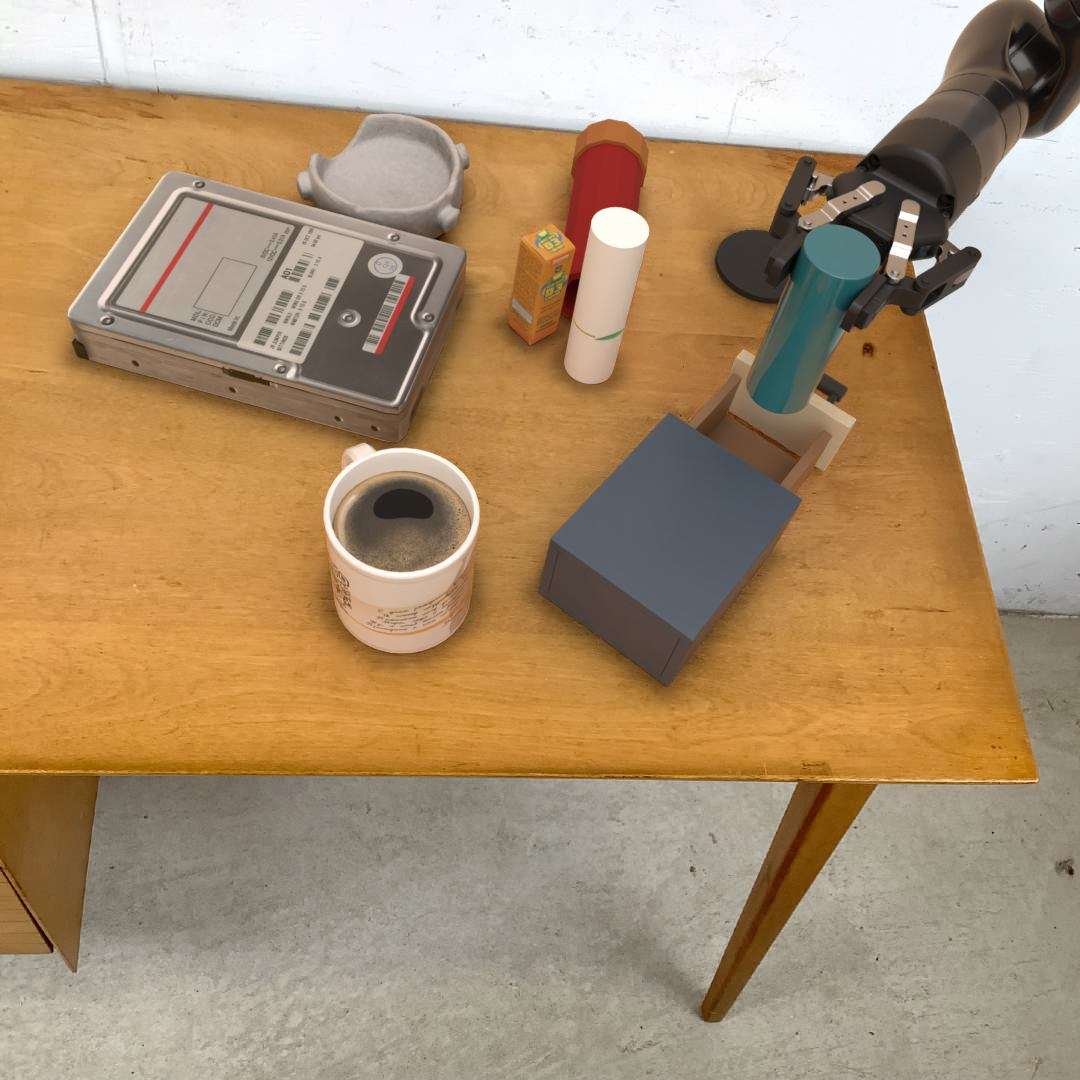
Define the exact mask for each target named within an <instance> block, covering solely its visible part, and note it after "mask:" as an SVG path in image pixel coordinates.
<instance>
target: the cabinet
mask: <svg viewBox="0 0 1080 1080" xmlns="http://www.w3.org/2000/svg"><path fill="white" fill-rule="evenodd" d="M802 502H803V499H802V498H801V497H799V496H798V495H797V494H796V493H795V494H793V493H792V492H790V491H789V490H787V489H786V488H784V487H783V486H781V485H779V484H778V483H776V482H775V481H773V480H772V479H770V478H769V477H767V476H766V475H764V474H763V473H761V472H760V471H758V470H757V469H755V468H754V467H752V466H751V465H749V464H747V463H746V462H744V461H743V460H741V459H740V458H738V457H737V456H735V455H734V454H732V453H731V452H729V451H728V450H726V449H725V448H723V447H722V446H720V445H718V444H717V443H715V442H714V441H712V440H711V439H709V438H708V437H706V436H705V435H703V434H702V433H700V432H699V431H697V430H696V429H694V428H693V427H691V426H689V425H688V423H686V422H685V421H683V420H682V419H681V418H680V417H679V418H678V416H676V415H674V414H673V413H671V412H668V413H667V414H666V416H664V418H662V420H660V421H659V423H658V424H657V425H656V426H655V427H654V428H653V429H652V430H651V431H650V432H649V433H648V434H647V436H645V438H643V440H642V441H640V443H639V444H638V445H637V446H636V447H635V448H634V449H633V450H632V451H631V453H629V455H628V456H627V457H626V458H625V459H624V460H623V461H622V462H621V463H620V464H619V465H618V466H617V467H616V468H615V470H613V472H612V473H611V474H610V475H609V476H608V477H607V478H606V479H604V481H603V482H602V483H601V484H600V485H599V486H598V487H597V489H596V490H594V492H593V493H591V495H590V496H589V497H588V498H587V499H586V500H585V501H584V502H583V503H582V505H581V506H579V508H578V509H576V511H575V512H574V513H573V514H572V515H571V516H570V517H569V518H568V519H567V521H565V523H564V524H563V525H562V526H560V528H559V529H558V530H557V531H556V532H555V533H554V534H553V535H552V536H551V537H550V539H549V543H548V547H547V552H546V555H545V556H546V557H545V561H544V567H543V571H542V573H541V579H540V583H539V587H538V593H539V594H540V595H542V596H543V597H544V598H546V599H547V600H548V601H549V602H551V603H552V604H554V605H555V606H556V607H558V608H559V609H561V610H562V611H563V612H564V613H566V614H567V615H569V616H570V617H571V618H573V619H574V620H576V621H577V622H578V623H580V625H582V626H583V627H585V628H586V629H588V630H589V631H591V633H593V634H594V635H595V636H597V637H599V639H601V640H602V641H604V642H605V643H607V644H608V645H610V646H611V647H612V648H613V649H615V650H616V651H617V652H619V653H620V654H622V655H623V656H624V657H626V658H627V659H628V660H630V661H631V662H632V663H634V664H635V665H636V666H638V667H639V668H641V669H642V670H644V671H645V672H646V673H647V674H649V676H651V677H653V678H654V679H655V680H657V681H658V682H659V683H661V684H662V685H663V686H665V687H666V688H668V687H669V686H670V684H672V682H673V681H674V679H675V678H676V677H677V676H678V674H679V673H680V672H681V670H682V669H683V668H684V667H685V665H686V664H687V663H688V661H689V660H690V658H692V656H693V655H694V654H695V652H696V651H697V650H698V648H699V647H700V646H701V644H703V642H704V640H705V639H706V638H707V637H708V636H709V634H710V633H711V632H712V630H713V629H714V627H715V626H716V625H717V624H718V623H719V622H720V620H721V619H722V617H723V616H724V615H725V613H727V611H728V610H729V609H730V607H731V606H732V604H733V603H734V602H735V601H736V599H737V598H738V597H739V595H740V594H741V593H742V592H743V590H744V589H745V588H746V586H747V585H748V584H749V582H750V581H751V580H752V579H753V577H754V576H755V574H756V573H757V572H758V571H759V570H760V568H762V566H763V564H764V563H765V562H766V561H767V559H768V558H769V556H771V554H772V552H773V551H774V549H775V547H776V546H777V544H778V542H779V541H780V540H781V537H782V535H783V534H784V532H785V530H787V527H788V525H789V524H790V522H791V521H792V519H793V518H794V516H795V514H796V513H797V511H798V510H799V507H800V506H801V504H802Z"/></svg>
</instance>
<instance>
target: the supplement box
mask: <svg viewBox="0 0 1080 1080" xmlns="http://www.w3.org/2000/svg"><path fill="white" fill-rule="evenodd" d="M564 234H565V233H563V232H562V231H561V230H559V228H557V226H555V225H554V224H553V223H548V224H547V225H545V227H544V228H541V229H540V230H537V231H535V232H533V233H529V234H527V235H524V236H522V237H521V238H520V242H519V247H518V254H517V260H516V265H515V266H516V267H515V273H514V279H513V285H512V291H511V297H510V303H509V308H508V317H507V324H508V325H509V326H510V327H511V328H512V329H513V330H514V332H515V333H517V334H518V335H519V337H521V338H522V339H523V340H524V341H525V342H526V343H527V344H528V345H529V346H531V345H534V344H535V343H537V342H539V341H541V340H542V339H544V338H546V337H548V336H549V335H552V334H553V333H555V332H557V330H558V326H559V322H560V317H561V314H562V313H561V309H562V305H563V300H564V296H565V292H566V287H567V283H568V279H569V274H570V270H571V265H572V261H573V257H574V253H575V246H574V245H573V244H572V243H571V242H570V240H569V239H568V238H567V237H566V236H565V235H564Z"/></svg>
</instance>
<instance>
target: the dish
mask: <svg viewBox="0 0 1080 1080" xmlns="http://www.w3.org/2000/svg"><path fill="white" fill-rule="evenodd" d="M469 155H470V154H469V152H468V149H467V147H466V146H465V144H464V143H462V142H460V143H457V144H455V143H454V141H453V139H452V138H451V137H450V135H449V133H447V132H446V131H445V130H444V129H443V128H441V126H438V125H437V124H435V123H433V122H430V121H428V120H426V119H423V118H418V117H416V116H412V115H407V114H400V113H393V112H392V113H391V112H390V113H371V114H368V115H366V116H365V117H364V118H363V119H362V121H361V123H360V124H359V126H358V129H357V131H356V132H355V135H354V136H353V137H352V139H351V140H350V141H349V143H348V144H347V145H346V146H345V147H344V148H343V150H342V151H340V152H339V153H338V154H337V155H335V156H333V157H327V156H322V155H321V154H320V153H318V152H313V153H311V156H310V158H309V161H308V165H307V169H306V170H302V171H299V172H298V174H297V177H296V182H295V183H296V189H297V192H298V195H299V196H300V197H301V199H303V200H305V201H311V202H312V203H313V205H314V207H315V208H318V209H322V210H326V211H330V212H333V213H337V214H341V215H344V216H348V217H352V218H356V219H359V220H363V221H367V222H371V223H374V224H378V225H382V226H386V227H389V228H393V229H397V230H401V231H404V232H408V233H412V234H416V235H419V236H423V237H427V238H431V239H434V240H435V239H436V238H438V237H440V236H441V235H443V234H444V233H450V232H452V231H453V230H454V229H455V228H456V227H457V225H458V221H459V218H460V216H461V210H460V209H461V207H462V202H463V198H464V189H465V173H464V171H465V170H468V169H469V168H470V165H471V163H470V156H469Z"/></svg>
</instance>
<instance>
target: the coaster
mask: <svg viewBox="0 0 1080 1080" xmlns="http://www.w3.org/2000/svg"><path fill="white" fill-rule="evenodd" d="M781 240H782V239H775V238H773V237H771V236H770V234H769V230H764V229H744V230H740V231H735V232H734V233H731V234H729V235H727V237H725V238H724V239H723V240H722V241H721V242H720V244H719V245H718V247H717V249H716V252H715V258H714V259H715V261H714V263H715V267H716V271H717V273H718V275H719V276H720V278H721V280H723V282H724V283H725V284H726V285H727V286H728V287H729V288H730V289H731V290H733V291H734V292H736V293H737V294H738V295H741V296H743V297H745V298H748V299H751V300H753V301H756V302H760V303H761V302H762V303H767V304H769V303H771V304H774V303H777V304H778V301H779V299H780V297H781V294H782V292H783V290H784V287H785V285H786V282H787V280H788V278H789V275H790V274H789V275H788V276H787V277H786V278H785V279H784V280H783V281H782V282H781V283H780V284H779V285H778V286H777V288H775V289H774V288H773V287H771V286H769V285H767V284H766V283H765V282H766V279H767V276H768V275H767V274H765V273H764V269H765V265H766V263H767V260H768V258H769V255H770V253H771V250H772V249H773V248H774V247H775V246H776V245H777V244H778V243H779V242H780V241H781Z"/></svg>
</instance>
